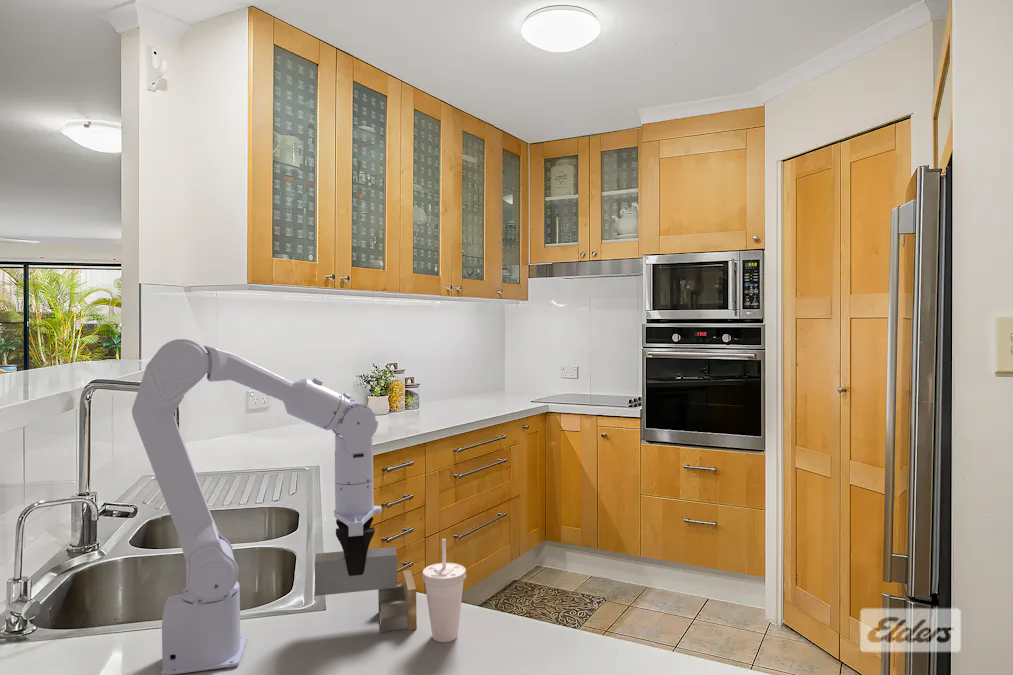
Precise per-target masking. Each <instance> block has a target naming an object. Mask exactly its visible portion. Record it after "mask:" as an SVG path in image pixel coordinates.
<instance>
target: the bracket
mask: <svg viewBox="0 0 1013 675" xmlns="http://www.w3.org/2000/svg"><path fill="white" fill-rule="evenodd" d="M402 580H403V581H402V583H401V584H397V588H389V589H379V590H377V591H378V593H377V595H378V596H377V599H378V601H377V602H378V603H377V604H378V616H379V617H378V618H379V624H380V631H381V633H388V632H393V631H394V632H395V631H402V630H408V631H412V630H417V629H418V628H417V621H418V620H417V587H416V583H415V581H414V577H413V574H412V570H410V569H409V570H408V569H407V570H402Z"/></svg>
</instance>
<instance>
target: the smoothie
mask: <svg viewBox="0 0 1013 675" xmlns="http://www.w3.org/2000/svg"><path fill="white" fill-rule="evenodd" d="M446 545H447V539H446V538H443V539H441V557H442V558H441V562H440V563H439V562H438V563H433V564H431V565H428V566H426V567H424V568H423V570H422V578H421V579H422V581H423V582H424V585H425V586H424V587H425V592H426V593H425V594H426V599H427V608H428V614H429V615H428V616H429V622H430V628H431V635H432V639H433V640H434V641H435V642H438V643H450V642H453V641H455V640H456V639H457V638H458V635H459V627H460V618H461V609H462V608H461V607H462V599H463V597H462V596H463V589H464V580H465V579H466V577H467V570H466V567H465V566H463V565H461V564H459V563H456V562H455V563H454V562H447V546H446Z"/></svg>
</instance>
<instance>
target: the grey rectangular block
mask: <svg viewBox="0 0 1013 675" xmlns="http://www.w3.org/2000/svg"><path fill="white" fill-rule="evenodd" d="M396 549H397V548H396V546H391V547H379V548H368V551H367V557H366V563H365V569H364V573H363V575H356V576H349V574H348V571H347V566H346V561H345V556H344V552H343V550H342V551H341V550H340V551H331V552H330V551H329V552H320V553H315V556H314V557H315V558H314V597H319V596H327V595H329V596H330V595H337V594H347V593H357V592H366V591H367V592H368V591H376V590H377V591H378V590H379V589H389V588H397V585H398V553H397V550H396Z"/></svg>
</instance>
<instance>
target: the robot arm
mask: <svg viewBox="0 0 1013 675" xmlns="http://www.w3.org/2000/svg"><path fill="white" fill-rule="evenodd" d="M205 376H206V380H207V381H208V382H221V381H222V382H223V381H224V382H225V381H233V382H235V383H238V384H240V385H242V386H244V387H247V388H250V389H253V390H255V391H258V392H260V393H262V394H265V395H267V396H269V397H272V398H274V399H277V400H280V401H282V403H283V404H284V407H285V411H286V412H287V414H288V415H289V416H293V417H295V418H297V419H300V420H302V421H304V422H307V423H309V424H311V425H313V426H316V427H317V428H320V429H323V430H325V431H331V432H332V433H334V434H335V435H334V441H335V442H334V443H335V444H334V489H335V490H334V495H335V500H334V503H335V507H334V508H335V509H334V510H333V517H334V518H335V519H336V520H335V523H336V524H335V525H337V528H335V536H336V537H337V538H336V539H337V540H338V542H339V543H340V545H341V548H342V551H343V552H344V556H345V561H346V566H347V571H348V574H349V576H356V575H363V573H364V569H365V563H366V557H367V551H368V549H369V547H370V543H371V541H372V539H373V537H374V534H375V532H376V528H375V527H371V525H372V523H373V520H374V515H375V514H381V513H382V511H383V510H382V506H381V505H375V500H374V497H375V496H374V493H375V492H374V450H373V437H374V435H375V433H376V432H377V429H378V425H379V421H378V420H376V419H377V418H376V414H375V412H373V409H371V407H369V406H368V405H366V404H364V403H361V402H357V401H356V400H355V399H351V398H352V396H351V395H350V394H349V393H346V392H344V393H343V394H341V393H339V392H337V391H334V390H332V389H331V388H328V387H325V386H324V385H323V383H324V382H323V381H322V380H320V379H318V378H315V377H313V378H312V380H311V379H309V378H306V377H305V378H301V379H299V380H296V381H291V380H289V379H286V378H285V377H283V376H280V375H278V374H276V373H275V372H273V371H270V370H268V369H266V368H264V367H262V366H260V365H258V364H256V363H253V362H252V361H249V360H247V359H246V358H244V357H241V356H240V355H238V354H235V353H233V352H229V351H226V350H223V349H218V348H215V347H213V346H212V347H211V346H208V345H203V346H202V345H200V344H199V343H198V342H196V341H194V340H191V339H187V338H178V339H173V340H171V341H168V342H166V343H165V344H163V345H161V347H160V348H159V349H158V351H156V352H155V354H154V356H152V358H151V359H150V361H148V363H147V364H146V367H145V369H144V372H143V376H142V379H141V381H140V384H139V387H138V391H137V394H136V396H135V399H134V403H133V405H132V408H131V414H132V419H133V421H134V423H135V426H136V429H137V432H138V433H139V434H138V435H139V437H140V439H141V442H142V444H143V448H144V450H145V452H146V455H147V457H148V460H149V463H150V465H151V468H152V470H153V473H154V475H155V478H156V481H157V484H158V486H159V489H160V491H161V494H162V497H163V499H164V501H165V505H166V506H167V510H168V511H169V514H170V517H171V520H172V522H173V525H174V527H175V530H176V532H177V535H178V538H179V542H180V546H181V549H182V553H183V557H184V559H185V560H184V562H185V567H186V568H185V569H186V577H185V578H186V579H185V584H186V586H185V588H184V589H183V590H182V592H181V594H178V595H172V596H169V597H167V599H166V601H165V604H164V607H163V612H162V617H161V618H162V621H161V650H162V652H161V656H162V657H161V658H162V661H161V663H162V670H161V672H160V674H161V675H178V674H179V675H180V674H187V673H195V672H201V671H209V670H216V669H217V670H218V669H223V668H225V669H226V668H231V667H237V666H239V665H240V663H241V660H242V657H243V653H244V650H245V647H246V644H247V641H248V636H246V635H245V636H244V635H243V636H241V602H240V601H241V597H240V596H241V593H240V592H241V591H240V582H239V581H238V578H239V566H238V563H236V560H235V557H234V547H233V545H232V544H231V542H230V541H229V540H228V539H226V537H224V536H222V535H221V533H220V531H219V530H218V527H217V525H216V522H215V520H214V518H213V515H212V514H211V510H210V507H209V505H208V502H207V500H206V496H205V495H204V492H203V489H202V486H201V484H200V480H199V478H198V475H197V473H196V470H195V468H194V466H193V462H192V460H191V457H190V454H189V453H188V452H189V451H188V449H187V447H186V444H185V441H184V439H183V435H182V433H181V430H180V428H179V425H178V423H177V421H176V416H175V412H176V410H177V409H178V407H179V406H180V403H182V400H183V399H184V397H185V395H186V394H187V393H188V392H189V391H190V390H191V389H192V388H193V387H195V386H196V385H197V384H198V383H199V382H200V381H201V380H202V379H203V378H204V377H205Z"/></svg>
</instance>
